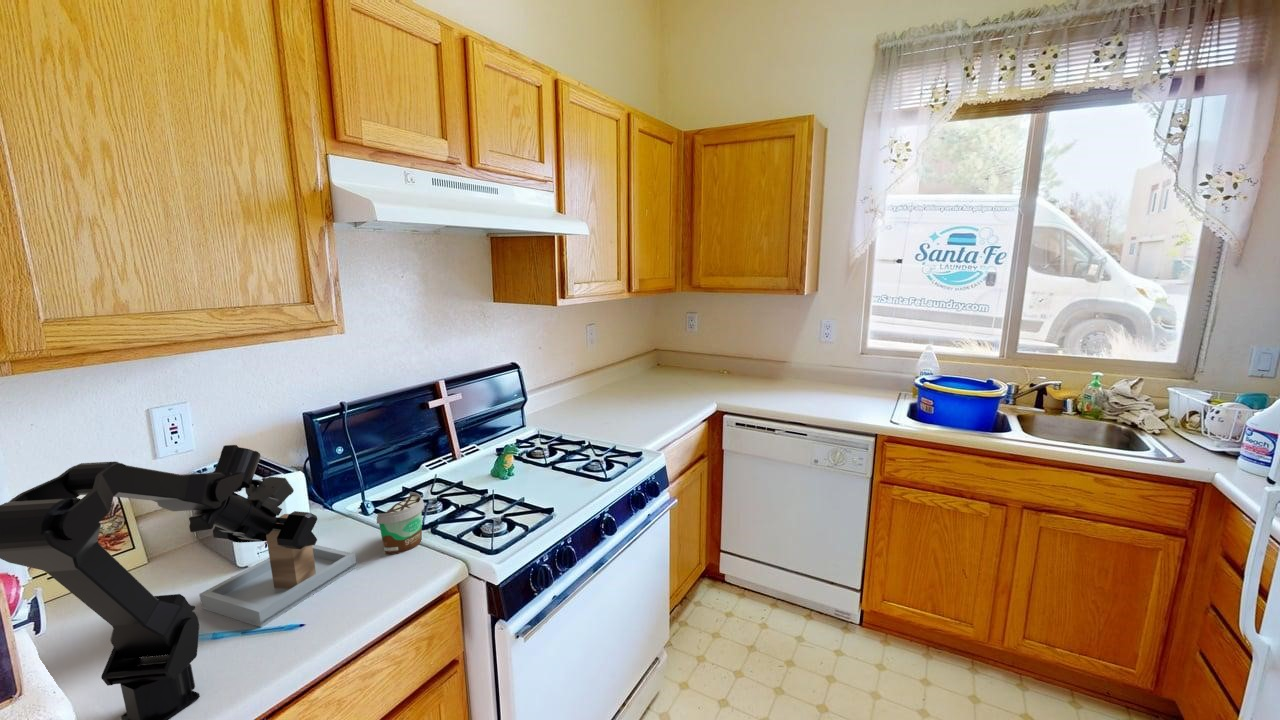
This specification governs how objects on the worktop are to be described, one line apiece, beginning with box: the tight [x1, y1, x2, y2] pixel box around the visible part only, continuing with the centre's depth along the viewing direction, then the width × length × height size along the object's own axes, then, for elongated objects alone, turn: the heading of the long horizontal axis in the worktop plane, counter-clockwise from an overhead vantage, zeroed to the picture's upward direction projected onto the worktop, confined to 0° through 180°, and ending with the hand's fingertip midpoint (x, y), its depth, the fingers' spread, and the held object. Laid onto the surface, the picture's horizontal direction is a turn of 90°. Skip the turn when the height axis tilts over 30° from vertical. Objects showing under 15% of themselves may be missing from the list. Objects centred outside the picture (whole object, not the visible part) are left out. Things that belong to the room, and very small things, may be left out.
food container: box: [376, 491, 425, 555], centre depth 120 cm, size 12×6×10 cm, turn 168°
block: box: [266, 513, 316, 589], centre depth 104 cm, size 5×5×13 cm
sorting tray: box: [199, 544, 358, 628], centre depth 105 cm, size 20×16×3 cm
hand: (295, 539), depth 105 cm, fingers open, 9 cm apart
